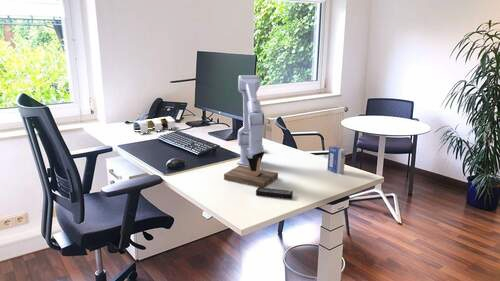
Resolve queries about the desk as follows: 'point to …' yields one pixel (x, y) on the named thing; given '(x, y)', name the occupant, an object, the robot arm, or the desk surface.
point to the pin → (257, 172)
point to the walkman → (336, 160)
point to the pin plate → (251, 177)
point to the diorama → (153, 123)
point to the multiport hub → (274, 193)
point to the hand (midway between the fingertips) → (255, 169)
